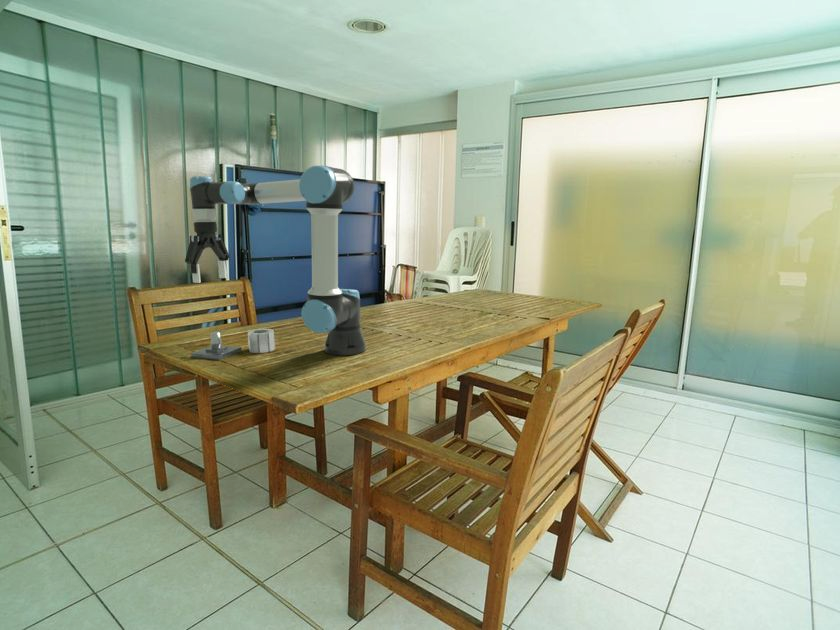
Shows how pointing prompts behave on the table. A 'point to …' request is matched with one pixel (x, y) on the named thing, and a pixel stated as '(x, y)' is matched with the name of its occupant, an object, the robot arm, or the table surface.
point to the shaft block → (216, 349)
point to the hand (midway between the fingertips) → (210, 280)
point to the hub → (261, 340)
